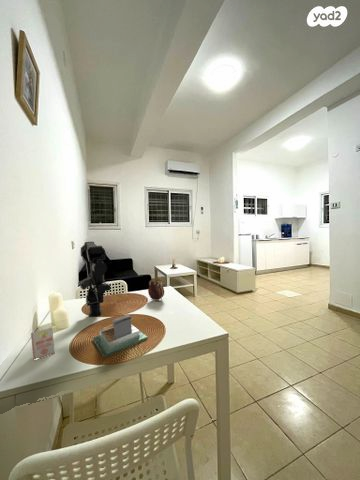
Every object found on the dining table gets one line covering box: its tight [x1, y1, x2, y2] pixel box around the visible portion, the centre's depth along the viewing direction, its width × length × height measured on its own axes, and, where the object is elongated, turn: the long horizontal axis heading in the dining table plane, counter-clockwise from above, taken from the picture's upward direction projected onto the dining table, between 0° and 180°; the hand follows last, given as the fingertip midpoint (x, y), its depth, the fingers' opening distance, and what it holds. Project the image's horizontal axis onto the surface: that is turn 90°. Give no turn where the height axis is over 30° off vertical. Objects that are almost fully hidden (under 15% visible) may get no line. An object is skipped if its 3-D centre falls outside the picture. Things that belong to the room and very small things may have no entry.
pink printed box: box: [30, 326, 55, 360], centre depth 77 cm, size 4×7×10 cm, turn 126°
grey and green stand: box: [92, 314, 148, 359], centre depth 85 cm, size 16×18×11 cm
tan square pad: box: [101, 317, 134, 330], centre depth 86 cm, size 1×11×9 cm
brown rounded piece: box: [147, 277, 165, 302], centre depth 130 cm, size 11×5×15 cm, turn 58°
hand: (99, 301), depth 99 cm, fingers closed
